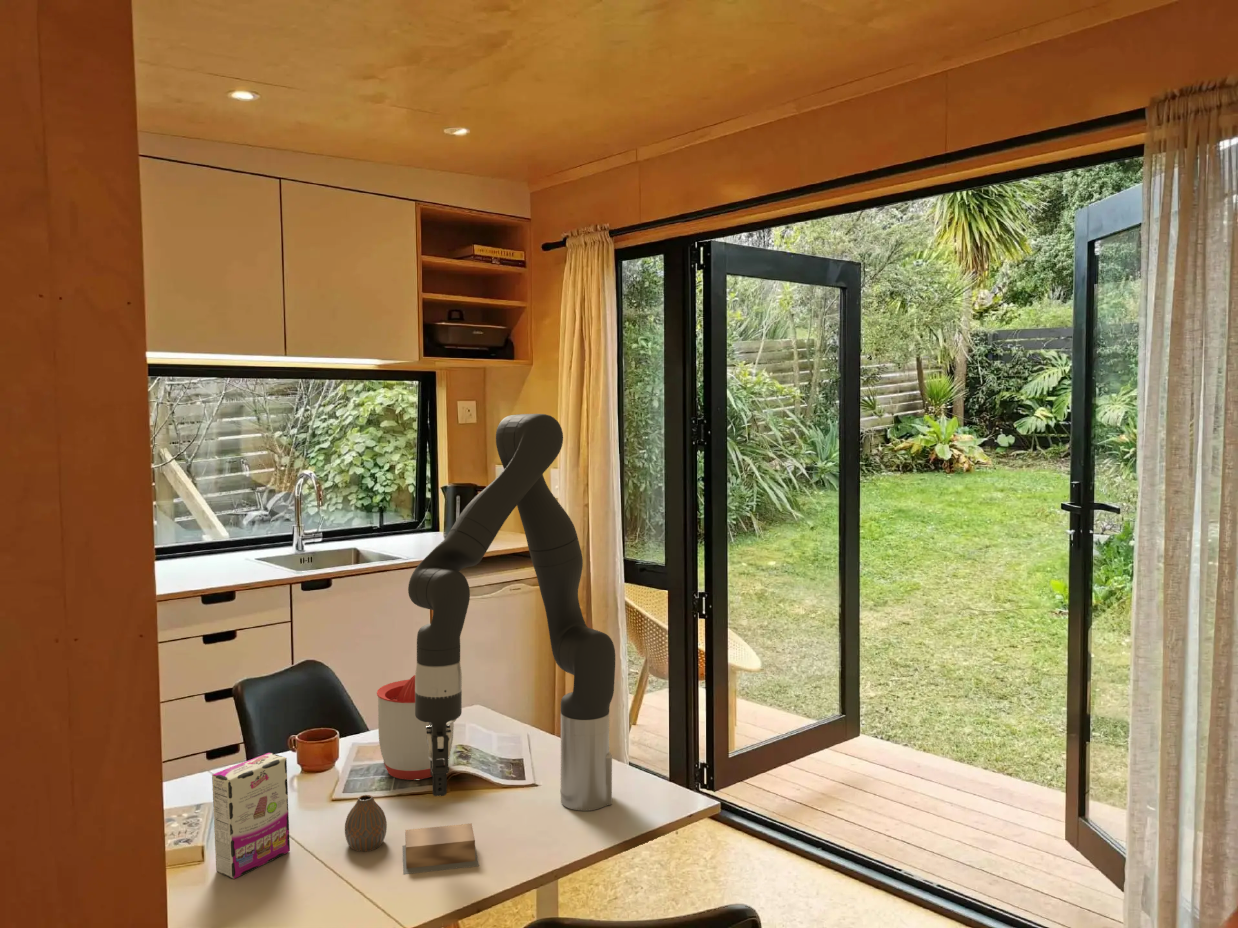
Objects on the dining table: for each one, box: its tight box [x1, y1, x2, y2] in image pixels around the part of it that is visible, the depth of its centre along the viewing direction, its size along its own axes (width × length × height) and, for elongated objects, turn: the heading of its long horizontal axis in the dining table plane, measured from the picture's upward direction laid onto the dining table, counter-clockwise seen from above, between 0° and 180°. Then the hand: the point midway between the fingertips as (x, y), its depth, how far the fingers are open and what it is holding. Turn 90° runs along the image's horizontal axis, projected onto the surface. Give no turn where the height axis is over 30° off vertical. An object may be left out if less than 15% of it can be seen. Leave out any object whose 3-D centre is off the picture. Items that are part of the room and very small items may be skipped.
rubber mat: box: [402, 844, 480, 875], centre depth 158 cm, size 12×10×1 cm
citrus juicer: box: [376, 674, 457, 781], centre depth 195 cm, size 16×17×20 cm
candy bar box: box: [211, 752, 291, 880], centre depth 156 cm, size 11×5×16 cm, turn 148°
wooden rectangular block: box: [404, 823, 476, 868], centre depth 158 cm, size 11×6×4 cm, turn 104°
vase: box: [344, 794, 388, 852], centre depth 162 cm, size 7×7×9 cm
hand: (438, 784), depth 157 cm, fingers open, 8 cm apart
